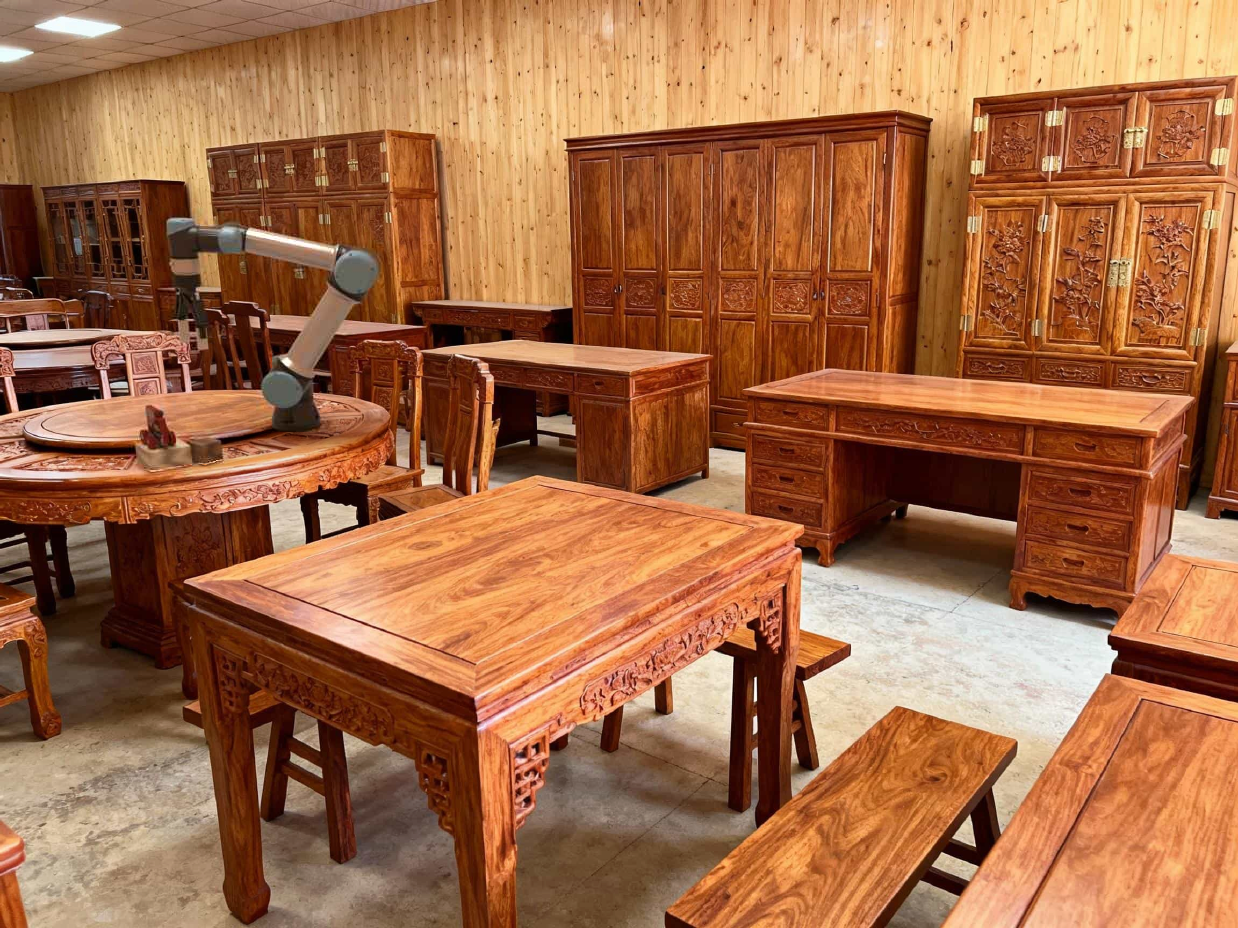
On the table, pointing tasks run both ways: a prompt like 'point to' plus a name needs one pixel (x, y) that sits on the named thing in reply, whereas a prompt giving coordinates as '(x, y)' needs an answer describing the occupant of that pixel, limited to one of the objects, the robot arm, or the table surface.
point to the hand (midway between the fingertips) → (194, 345)
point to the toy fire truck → (156, 429)
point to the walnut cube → (206, 450)
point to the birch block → (164, 455)
